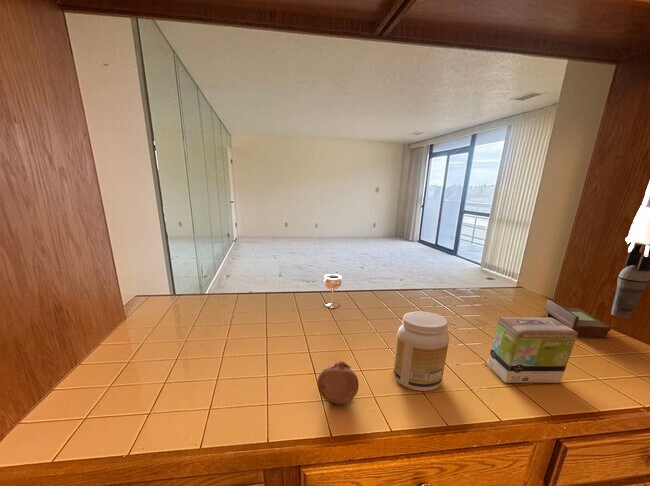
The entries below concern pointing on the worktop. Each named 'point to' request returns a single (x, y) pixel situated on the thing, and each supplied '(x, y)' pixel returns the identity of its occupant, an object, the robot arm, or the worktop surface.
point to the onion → (338, 384)
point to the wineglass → (332, 286)
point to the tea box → (531, 349)
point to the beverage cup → (629, 290)
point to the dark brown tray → (577, 320)
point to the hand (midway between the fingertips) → (637, 267)
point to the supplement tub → (421, 351)
